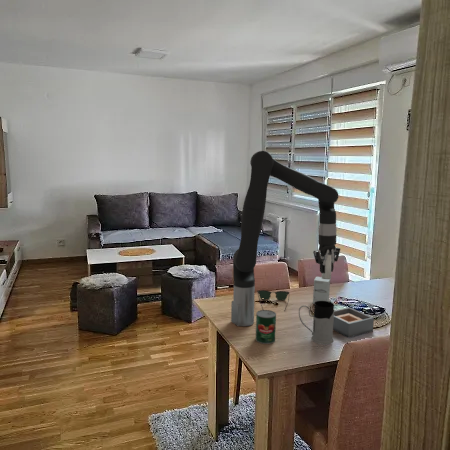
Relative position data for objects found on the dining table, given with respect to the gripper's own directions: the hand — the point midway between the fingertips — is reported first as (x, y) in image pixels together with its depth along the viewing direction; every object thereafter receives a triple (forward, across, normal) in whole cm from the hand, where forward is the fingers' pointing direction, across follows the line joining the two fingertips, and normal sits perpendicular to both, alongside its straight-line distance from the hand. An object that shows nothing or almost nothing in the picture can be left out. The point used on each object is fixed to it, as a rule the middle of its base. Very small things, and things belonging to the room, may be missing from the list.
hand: (326, 271), depth 176 cm
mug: (+23, -15, -11) cm, 30 cm away
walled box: (+24, +4, -9) cm, 26 cm away
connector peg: (+3, 0, 0) cm, 3 cm away
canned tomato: (+23, -34, -2) cm, 40 cm away
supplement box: (+24, +16, +20) cm, 35 cm away
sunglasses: (+23, -7, +29) cm, 38 cm away
